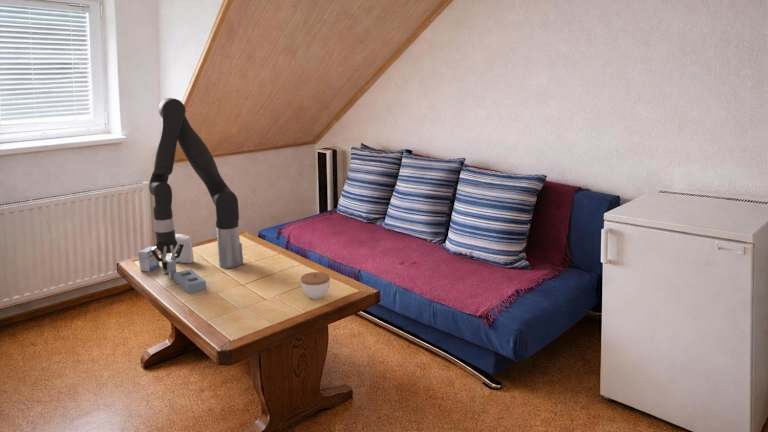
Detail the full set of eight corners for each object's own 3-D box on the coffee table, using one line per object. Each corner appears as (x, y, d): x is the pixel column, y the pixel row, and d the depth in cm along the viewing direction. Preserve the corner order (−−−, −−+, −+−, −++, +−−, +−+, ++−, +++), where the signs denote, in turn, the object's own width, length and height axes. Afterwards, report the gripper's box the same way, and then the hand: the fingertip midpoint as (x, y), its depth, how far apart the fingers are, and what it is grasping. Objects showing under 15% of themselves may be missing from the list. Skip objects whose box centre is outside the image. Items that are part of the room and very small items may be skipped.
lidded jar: (306, 303, 230) (305, 280, 228) (298, 293, 240) (297, 270, 237) (334, 298, 234) (333, 275, 232) (325, 288, 244) (324, 266, 241)
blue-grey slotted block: (191, 277, 257) (190, 269, 256) (206, 289, 245) (205, 280, 244) (174, 281, 253) (173, 272, 252) (188, 293, 241) (187, 284, 240)
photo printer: (169, 261, 275) (166, 234, 272) (176, 258, 279) (173, 231, 276) (189, 264, 272) (186, 237, 268) (195, 261, 276) (192, 234, 272)
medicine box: (149, 272, 263) (147, 252, 261) (140, 271, 264) (137, 251, 262) (159, 265, 271) (157, 246, 268) (150, 264, 272) (148, 245, 269)
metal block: (169, 270, 264) (167, 255, 262) (177, 277, 256) (175, 261, 254) (163, 272, 262) (161, 256, 260) (171, 279, 255) (169, 262, 253)
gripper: (178, 223, 261) (182, 263, 265) (144, 229, 253) (149, 270, 257) (185, 227, 255) (189, 267, 260) (150, 234, 247) (155, 275, 252)
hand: (169, 268), depth 258 cm, fingers closed on metal block, 2 cm apart
